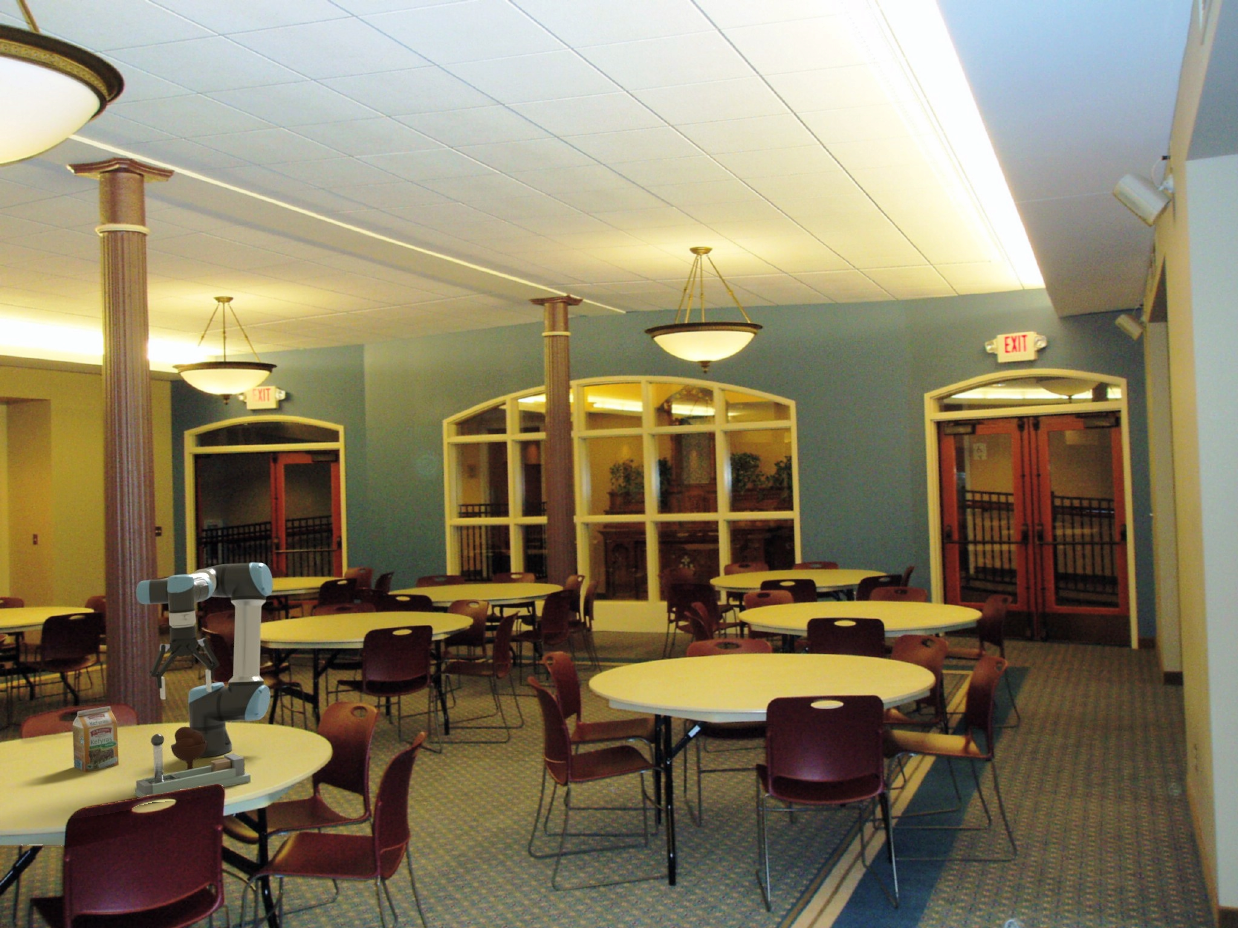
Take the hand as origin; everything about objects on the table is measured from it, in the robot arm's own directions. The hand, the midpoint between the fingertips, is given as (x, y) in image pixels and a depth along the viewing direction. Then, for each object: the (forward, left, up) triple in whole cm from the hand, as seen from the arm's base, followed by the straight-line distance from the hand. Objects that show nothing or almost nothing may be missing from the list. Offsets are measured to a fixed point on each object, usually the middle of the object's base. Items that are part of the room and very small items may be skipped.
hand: (186, 694), depth 331 cm
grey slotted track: (+5, 0, -27) cm, 28 cm away
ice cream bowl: (-14, +5, -28) cm, 31 cm away
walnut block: (+5, +8, -25) cm, 27 cm away
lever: (+5, -9, -25) cm, 27 cm away
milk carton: (-51, -14, -28) cm, 60 cm away
